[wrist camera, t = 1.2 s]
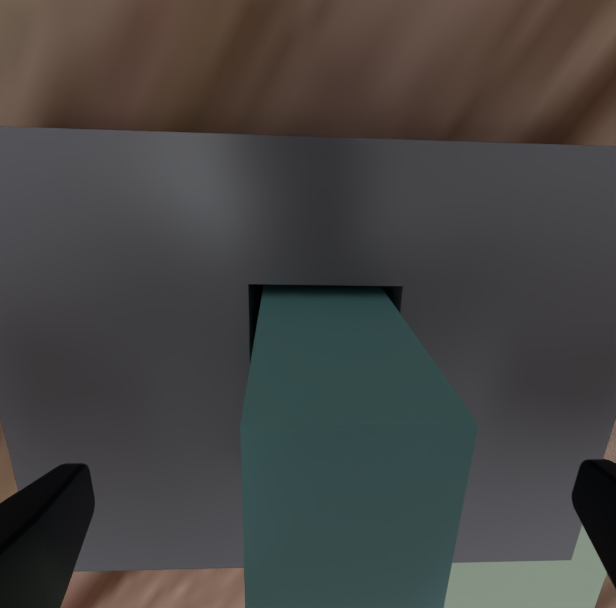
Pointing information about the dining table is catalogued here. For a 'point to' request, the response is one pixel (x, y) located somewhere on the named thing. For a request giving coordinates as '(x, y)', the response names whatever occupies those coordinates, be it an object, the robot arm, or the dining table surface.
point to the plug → (348, 455)
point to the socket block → (296, 271)
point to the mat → (529, 582)
